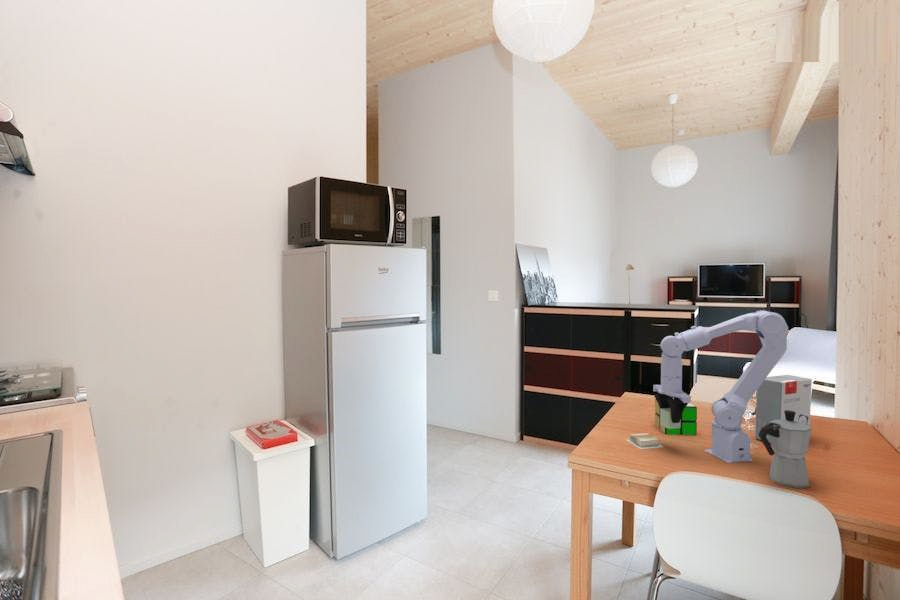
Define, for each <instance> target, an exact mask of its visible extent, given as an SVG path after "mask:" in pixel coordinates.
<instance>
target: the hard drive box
mask: <svg viewBox="0 0 900 600" xmlns="http://www.w3.org/2000/svg"><path fill="white" fill-rule="evenodd" d="M812 381H813V379H812V378H806V377H802V376H796V375H791V374H781V375H774V376H767V377H766V379H765V380H764V381H763V383H762V384H761V385H760V386H759V388H758V389H757V390H756V403H755V406H756V407H755V422H754V423H755V424H754V425H755V426H754V439H757V440H759V441H762V440H761V439H760V437H759V433H760V430H761V428H762V427H764V426H766V424H767V423H769V422H770V421H772V420H782V419H786V418H785V413H784V411H785V410H790V411H794V412H796V413H795V417H794V421H797V422H800V423H803V424H805V425H810V426H811V406H812V405H811V402H812ZM766 438H767V440H768V441H769V443H770V445H772V443H771V436H770V435H768V434H767V436H766Z"/></svg>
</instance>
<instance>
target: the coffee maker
mask: <svg viewBox="0 0 900 600" xmlns="http://www.w3.org/2000/svg"><path fill="white" fill-rule="evenodd" d="M784 413H785V418H786V419H782V420H772V421H770V422H769V423H767V424H766V426H764V427H762V428H761V430H760V433H759V437H760V439H761V440H760V441H761V442H762V444H763V446H764V447H765V450H766V451H767V453H768V454H769V455H770V456H772V458H771V465H770V470H769V473H768V475H769V476H768V479H769V480H770V479H771V481H772V480H773V481H772V482H774V481H775V483H776V482H777V484H778V483H779V485H780V484H782V485H781V486H785V487H790V488H795V489H803V488H810V484H809V483H810V482H809V477H808V476H809V475H808V470H807V465H806V464H807V463H806V458H805V454H806V453H808V451H809V446H810V442H811V441H810V440H811V435H812V430H813V428H812V425H811V424H810V425H805V424H803V423H800V422H797V421H794V417H795V413H796V412H794V411H790V410H785V411H784ZM767 434H768V435H770V436H771V443H772V444H771V443H769V441H768V440H767V438H766V436H767ZM773 448H774V449H773Z"/></svg>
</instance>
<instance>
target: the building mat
mask: <svg viewBox="0 0 900 600" xmlns="http://www.w3.org/2000/svg"><path fill="white" fill-rule="evenodd" d="M625 441H626V442H628V443H629V444H631V445H633V446H634V447H636V448H637V449H639V450H645V449H646V450H647V449H656V448H657V449H659V448H664V446H663V445H661V444H659V446H653V447H639V446H638V445H636V444H635V443H633V442H631V441H630V438H629V439H625Z"/></svg>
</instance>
